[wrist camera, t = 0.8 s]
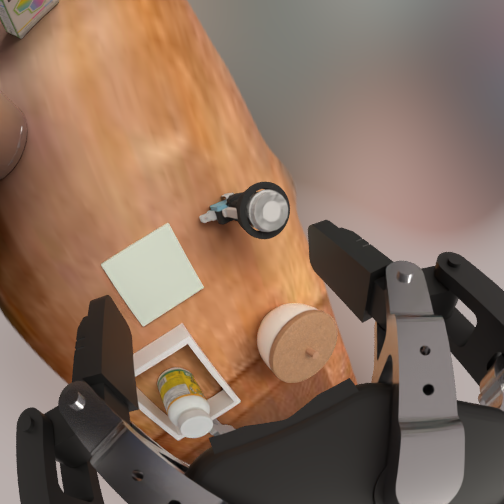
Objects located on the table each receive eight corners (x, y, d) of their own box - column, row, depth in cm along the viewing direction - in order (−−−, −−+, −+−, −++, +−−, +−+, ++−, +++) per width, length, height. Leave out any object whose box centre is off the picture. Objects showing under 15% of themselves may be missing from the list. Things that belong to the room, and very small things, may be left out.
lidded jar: (232, 320, 37) (267, 354, 29) (293, 279, 40) (337, 299, 32) (260, 368, 41) (294, 402, 33) (312, 329, 44) (351, 354, 36)
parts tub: (172, 425, 36) (178, 440, 33) (111, 367, 30) (112, 383, 27) (231, 388, 39) (241, 401, 36) (182, 322, 33) (189, 335, 30)
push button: (206, 239, 33) (242, 256, 24) (190, 197, 31) (223, 199, 22) (253, 217, 35) (301, 227, 27) (240, 177, 33) (287, 174, 25)
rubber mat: (142, 324, 31) (143, 326, 31) (101, 263, 27) (101, 264, 27) (202, 286, 34) (204, 287, 33) (167, 222, 30) (168, 223, 30)
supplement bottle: (151, 373, 33) (167, 422, 24) (187, 360, 35) (211, 405, 26) (164, 399, 34) (183, 447, 26) (197, 387, 36) (223, 431, 28)
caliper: (196, 411, 38) (210, 438, 32) (200, 407, 38) (215, 434, 32) (267, 440, 47) (284, 459, 42) (271, 436, 47) (287, 456, 42)
